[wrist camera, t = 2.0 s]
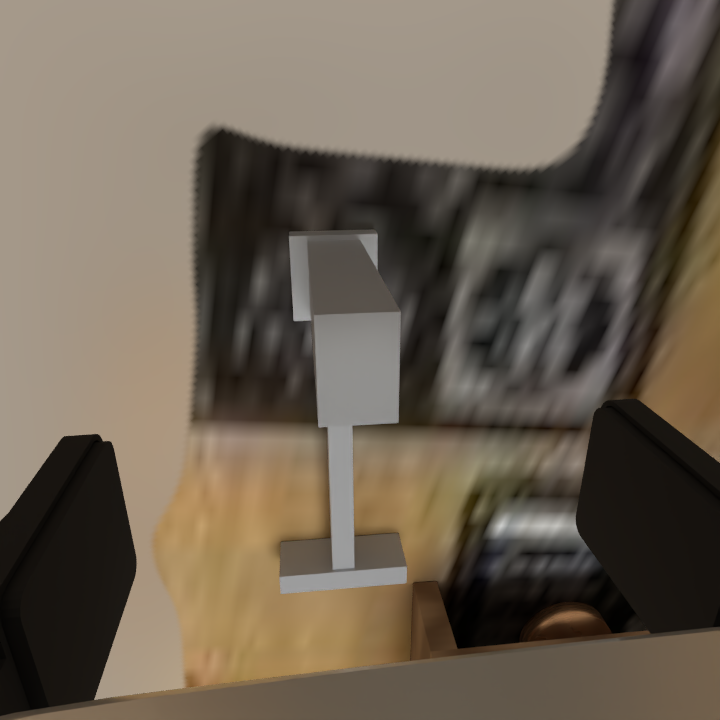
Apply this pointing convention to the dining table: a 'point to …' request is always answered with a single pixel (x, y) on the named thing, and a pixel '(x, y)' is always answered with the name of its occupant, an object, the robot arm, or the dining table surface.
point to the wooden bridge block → (436, 633)
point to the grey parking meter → (345, 398)
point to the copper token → (564, 623)
